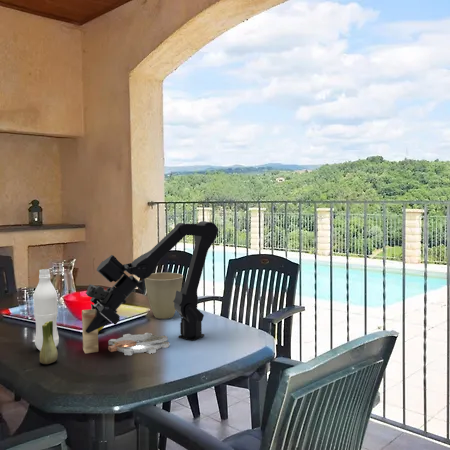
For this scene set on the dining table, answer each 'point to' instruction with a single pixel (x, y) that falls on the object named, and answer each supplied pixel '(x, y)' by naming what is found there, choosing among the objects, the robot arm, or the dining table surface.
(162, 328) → the dining table surface
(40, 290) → the water bottle
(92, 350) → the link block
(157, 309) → the plant pot
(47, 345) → the fennel bulb
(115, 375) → the dining table surface
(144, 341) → the sprocket plate
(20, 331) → the dining table surface
